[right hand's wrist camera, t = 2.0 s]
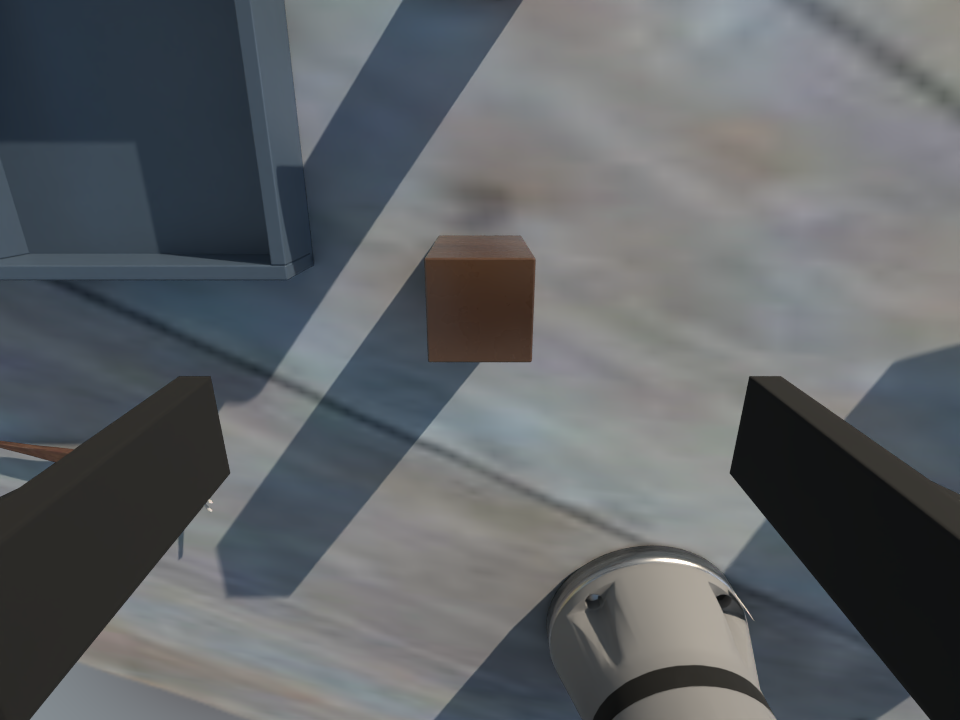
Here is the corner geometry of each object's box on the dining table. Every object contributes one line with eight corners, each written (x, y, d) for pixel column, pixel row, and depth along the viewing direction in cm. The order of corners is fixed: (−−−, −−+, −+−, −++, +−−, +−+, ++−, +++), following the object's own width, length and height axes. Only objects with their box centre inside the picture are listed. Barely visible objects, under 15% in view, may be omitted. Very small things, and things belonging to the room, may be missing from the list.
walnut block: (519, 315, 32) (531, 362, 25) (440, 315, 32) (428, 362, 25) (521, 235, 31) (535, 258, 23) (438, 235, 31) (423, 258, 23)
